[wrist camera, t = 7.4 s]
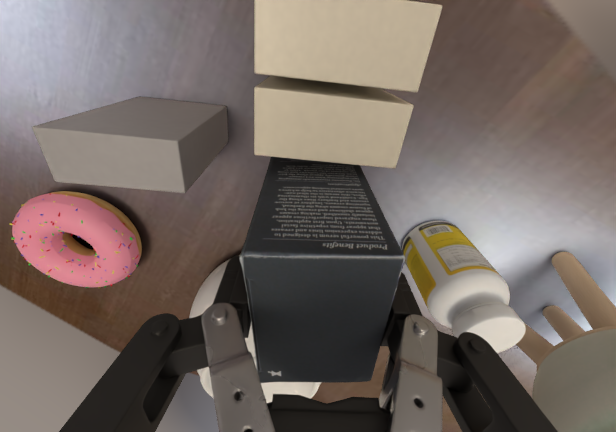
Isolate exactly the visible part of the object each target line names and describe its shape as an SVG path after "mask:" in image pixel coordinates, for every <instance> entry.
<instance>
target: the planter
mask: <svg viewBox="0 0 616 432" xmlns="http://www.w3.org/2000/svg"><path fill="white" fill-rule="evenodd" d="M551 262H552V264H553V266H554V268H555V269H556V271H557V273H558V274H559V276H560V278H561V279H562V281H563V283H564V284H565V286H566V288H567V289H568V291H569V293H570V294H571V296H572V298H573V299H574V301H575V302H576V304H577V305H578V307H579V308H580V310H581V312H582V313H583V315H584V316H585V318H586V319H587V321H588V323H589V324H590V326H591V327H592V329H593V330H590V331H586V332H585V331H584V330H583V329H582V328H581V327H580V326H579V325H578V324H577V323H576V322H575V321H574V320H573V319H572V318H570V317H569V316H568V315H567V314H566V313H565V312H564V311H563V310H562V309H561V308H560V307H558V306H554V305H552V306H547V307H546V308H544V310H543V316H544V317H545V318H546V319H547V321H548V322H549V323H550V325H551V326H552V327H553V328H554V330H555V331H556V332H557V333H558V335H559V336H560V337H561V338H562V340H563V341H562V342H561V343H559V344H557V345H556V346H553V345H552V344H551V343H549V342H548V341H547V340H546V339H544V338H543V337H542V336H541V335H539V334H538V333H537V332H535V331H534V330H533V329H532V328H530V327H529V326H528V325H526V324H525V323H524V322H523V323H524V324H525V327H526V331H525V334H524V336H523V338H522V339H521V340H520V341H519V342H518V343H517V344H516V345H517V346H518V347H519V348H520V349H521V350H522V351H523V352H524V353H525V354H526V355H528V356H529V357H530V358H531V359H532V360H533V361H534V362H535V363H536V364H537V373H536V376H535V380H534V385H533V394H532V399H533V400H534V402H535V403H536V404H537V405H538V407H539V408H540V409H541V411H542V412H543V413H544V414H545V416H546V417H547V418H548V420H549V421H550V422H551V423H552V425H553V426H554V427H555V429H556V430H557V431H558V432H616V307H615V306H614V305H613V303H612V302H611V301H610V300H609V299H608V297H607V296H606V295H605V294H604V293H603V291H602V290H601V289H600V288H599V286H598V285H597V284H596V283H595V281H594V280H593V279H592V278H591V276H590V275H589V274H588V272H587V271H586V270H585V269H584V267H583V266H582V265H581V263H580V262H579V261H578V260H577V259H576V258H575V257H574V256H573V255H572V254H571V253H569V252H559V253H557V254H555V255H554V256H553V257H552V260H551Z"/></svg>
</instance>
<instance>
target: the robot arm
mask: <svg viewBox="0 0 616 432" xmlns="http://www.w3.org/2000/svg"><path fill="white" fill-rule="evenodd" d="M239 257H240V256H235V255H234V256H233V257H232V258H231V259H230V260H229V261H228V263H227V266H226V268H225V272H224V274H223V277H222V279H221V282H220V285H219V288H218V290H217V293H216V296H215V299H214V302H213V304H212V305H211V306H210V307H208V308H207V309H206V310H205V311H204V313H203V314H201V315H199V316H196V317H193V318H188V319H184V320H179V319H178V318H177V317H176V316H174V315H172V314H159V315H156V316H154V317H152V318H150V319H149V320H147V321H146V322H145V323H144V324H143V325H142V327H141V328H140V329H139V330H138V332H137V333H136V334H135V335H134V337H133V338H132V339H131V341H130V342H129V343H128V344H127V346H126V347H125V348H124V350H123V351H122V352H121V353H120V355H119V356H118V357H117V359H116V360H115V361H114V362H113V364H112V365H111V366H110V367H109V369H108V370H107V371H106V373H105V374H104V375H103V376H102V378H101V379H100V380H99V381H98V383H97V384H96V385H95V387H94V388H93V389H92V390H91V392H90V393H89V394H88V395H87V397H86V398H85V399H84V401H83V402H82V403H81V405H80V406H79V407H78V408H77V410H76V411H75V412H74V413H73V415H72V416H71V417H70V419H69V420H68V421H67V422H66V424H65V425H64V426H63V427H62V429H61V430H60V431H59V432H155V431H156V429H157V427H158V425H159V423H160V421H161V420H162V418H163V416H164V414H165V412H166V410H167V408H168V406H169V404H170V402H171V401H172V399H173V397H174V395H175V393H176V391H177V389H178V387H179V386H180V384H181V382H182V380H183V378H184V376H185V374H186V373H188V372H192V371H196V370H199V369H203V368H206V367H209V371H210V377H211V384H212V390H213V396H214V402H215V408H216V415H217V421H218V427H219V432H442V394H443V396H444V398H445V400H446V402H447V404H448V405H449V407H450V409H451V411H452V413H453V415H454V417H455V419H456V420H457V422H458V424H459V426H460V428H461V430H462V432H558V431H557V430H556V429H555V427H554V426H553V425H552V423H551V422H550V421H549V420H548V418H547V417H546V416H545V414H544V413H543V412H542V411H541V409H540V408H539V407H538V405H537V404H536V403H535V402H534V400H533V399H532V398H531V396H530V395H529V394H528V393H527V391H526V390H525V389H524V388H523V386H522V385H521V384H520V382H519V381H518V380H517V379H516V377H515V376H514V375H513V373H512V372H511V371H510V370H509V368H508V367H507V366H506V364H505V363H504V362H503V361H502V359H501V358H500V357H499V355H498V354H497V353H496V352H495V350H494V349H493V348H492V346H491V345H490V344H489V343H488V342H487V341H486V340H485V339H483V338H482V337H480V336H479V335H477V334H474V333H471V332H463V333H461V334H460V335H459V337H458V338H457V337H454V336H451V335H448V334H445V333H442V332H440V331H438V330H437V329H436V327H435V326H434V324H433V323H432V322H431V321H429V320H428V319H427V318H425V317H423V316H422V314H421V311H420V309H419V307H418V305H417V302H416V300H415V298H414V296H413V293H412V292H411V289H410V286H409V285H408V282H407V280H406V277H405V275H404V274H403V273H402V272H401V274H400V278H399V281H398V285H397V289H396V292H395V295H394V299H393V303H392V306H391V310H390V313H389V317H388V320H387V324H386V328H385V331H384V334H383V338H382V342H381V345H380V346H388V347H389V350H390V353H389V355H388V359H387V364H386V369H385V374H384V379H383V384H382V389H381V394H380V398H379V399H378V398H365V397H351V398H347V399H344V400H340V401H336V402H332V403H328V404H326V403H322V402H319V401H316V400H313V399H310V398H307V397H304V396H301V395H293V394H273V398H272V402H270V403H266V399H265V396H264V393H263V389H262V386H261V383H260V379H259V376H258V373H257V369H256V366H255V363H254V359H253V356H252V354H251V352H249V351H248V348H247V344H246V341H245V338H248V336H249V331H250V326H251V318H250V312H249V306H248V299H247V291H246V286H245V280H244V275H243V270H242V266H241V263H240V259H239ZM475 385H476V386H475ZM476 387H477V388H476ZM478 390H479V391H478ZM480 393H481V394H480ZM481 395H482V396H483V397H482V396H481ZM483 398H484V399H485V400H484V399H483ZM485 401H486V402H485ZM487 404H488V405H487ZM489 407H490V408H489ZM490 409H491V410H490Z"/></svg>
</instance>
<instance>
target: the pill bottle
mask: <svg viewBox="0 0 616 432" xmlns="http://www.w3.org/2000/svg"><path fill="white" fill-rule="evenodd" d="M402 252H403V254H404V256H405V262H406V264H407V266H408V268H409V270H410V272H411V275H412V277H413V279H414V281H415V283H416V285H417V287H418V289H419V291H420V293H421V295H422V297H423V299H424V301H425V304H426V306H427V308H428V310H429V312H430V313H431V315H432V316H433V318H434V319H435V320H436V321H437V322H439V323H440V324H442V325H444V326H446V327H449V328H451V329H452V332H453V335H454V336H455V337H457V338H458V337H459V335H460V334H461V333H463V332H471V333H474V334H477V335H479V336H480V337H482V338H483V339H485V340H486V341H487V342H488V343H489V344H490V345H491V346H492V348H493V349H494V350H495V352H496V353H499V352H502V351H504V350H507V349H509V348H510V347H512V346H514V345H515V344H517V343H518V342H519V341H520V340H521V339H522V338H523V336H524V334H525V331H526V327H525V324H524V323H523V321H522V320H521V319H520V317H519V316H518V315H517V313H516V312H515V311H514V310H513V309H512V308H511V307H510V306H508V304H509V300H510V291H509V288H508V285H507V284H506V282H505V281H504V279H503V278H502V277H501V276H500V275H499V273H498V272H497V271H496V270H495V269H494V268H493V267H492V266H491V264H490V263H489V262H488V261H487V260H486V259H485V258H484V256H483V255H482V254H481V253H480V252H479V251H478V250H477V249H476V247H475V246H474V245H473V244H472V243H471V242H470V241H469V240H468V238H467V237H466V236H465V235H464V234H463V233H462V232H461V231H460V230H459V229H458V228H457V227H456V226H455V225H453V224H452V223H449V222H446V221H430V222H426V223H423V224H421V225H419V226H417V227H416V228H414V229H413V230H412V231H411V232H410V233H409V234H408V235H407V236H406V238H405V239H404V241H403V244H402Z"/></svg>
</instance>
